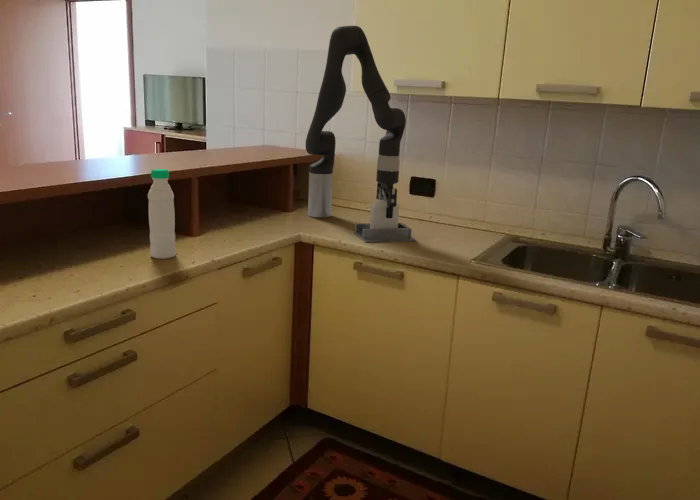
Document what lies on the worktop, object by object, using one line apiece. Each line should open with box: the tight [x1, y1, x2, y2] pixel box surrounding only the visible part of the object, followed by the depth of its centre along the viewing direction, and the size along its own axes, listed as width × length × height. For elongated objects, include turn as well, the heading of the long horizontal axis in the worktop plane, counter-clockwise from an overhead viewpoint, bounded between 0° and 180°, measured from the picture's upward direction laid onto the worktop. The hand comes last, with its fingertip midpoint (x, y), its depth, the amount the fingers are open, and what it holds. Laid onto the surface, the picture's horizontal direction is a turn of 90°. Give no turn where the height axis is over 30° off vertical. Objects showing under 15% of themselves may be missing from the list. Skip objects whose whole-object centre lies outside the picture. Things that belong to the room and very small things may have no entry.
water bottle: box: [147, 168, 177, 260], centre depth 165 cm, size 7×7×25 cm
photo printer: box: [369, 199, 400, 229], centre depth 202 cm, size 10×4×12 cm, turn 112°
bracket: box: [353, 222, 416, 243], centre depth 203 cm, size 14×18×4 cm
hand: (385, 215), depth 202 cm, fingers open, 8 cm apart
